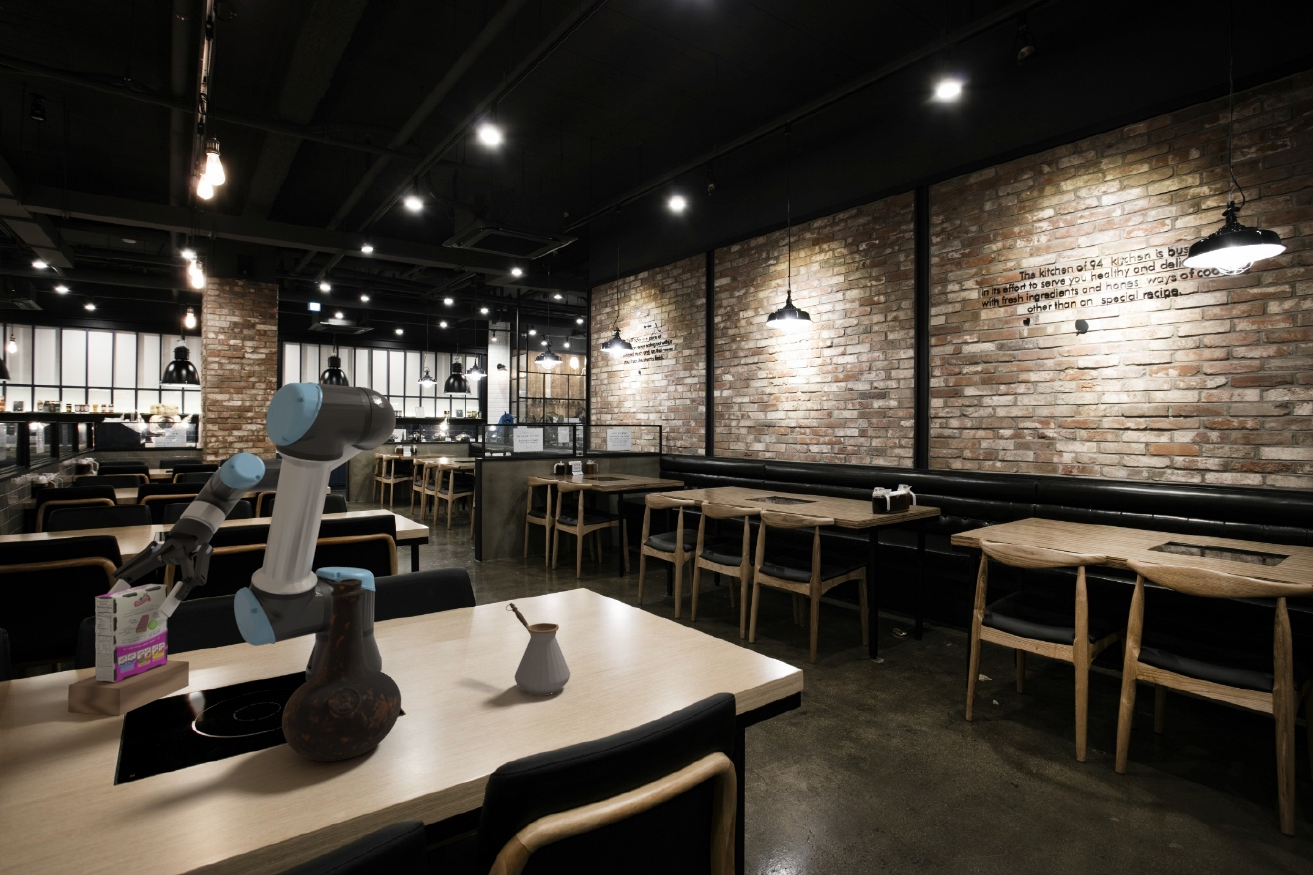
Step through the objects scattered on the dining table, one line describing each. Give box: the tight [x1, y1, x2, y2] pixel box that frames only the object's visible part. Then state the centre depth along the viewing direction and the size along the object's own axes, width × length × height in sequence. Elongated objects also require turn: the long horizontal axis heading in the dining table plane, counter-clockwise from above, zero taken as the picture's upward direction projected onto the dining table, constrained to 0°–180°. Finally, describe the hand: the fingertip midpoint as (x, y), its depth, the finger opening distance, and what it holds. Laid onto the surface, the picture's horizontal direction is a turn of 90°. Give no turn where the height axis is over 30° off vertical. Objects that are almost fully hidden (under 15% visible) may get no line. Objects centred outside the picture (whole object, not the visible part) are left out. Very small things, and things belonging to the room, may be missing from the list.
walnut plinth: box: [67, 659, 190, 716], centre depth 128 cm, size 11×15×5 cm
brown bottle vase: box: [281, 579, 402, 762], centre depth 108 cm, size 18×18×28 cm
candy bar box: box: [94, 583, 168, 683], centre depth 128 cm, size 11×5×16 cm, turn 171°
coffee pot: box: [505, 602, 571, 697], centre depth 139 cm, size 21×12×15 cm, turn 39°
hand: (133, 612), depth 129 cm, fingers open, 13 cm apart
